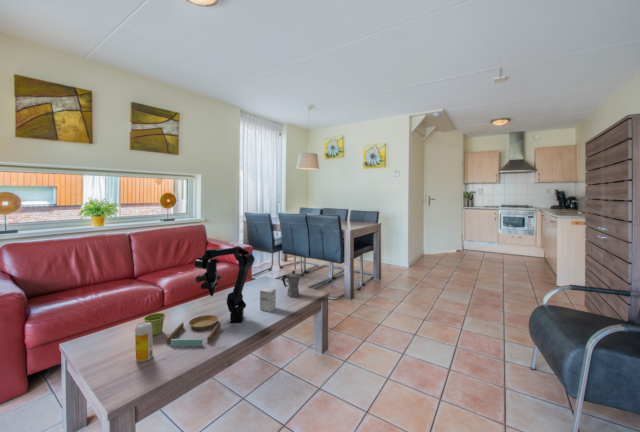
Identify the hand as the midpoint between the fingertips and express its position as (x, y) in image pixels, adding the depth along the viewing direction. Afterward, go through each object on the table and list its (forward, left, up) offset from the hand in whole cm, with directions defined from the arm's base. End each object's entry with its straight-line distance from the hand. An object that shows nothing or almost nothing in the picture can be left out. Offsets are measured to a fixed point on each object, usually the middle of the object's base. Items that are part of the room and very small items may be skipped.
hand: (211, 295), depth 161 cm
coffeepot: (-46, -32, -12) cm, 57 cm away
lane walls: (0, +25, -11) cm, 27 cm away
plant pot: (+21, +22, -12) cm, 33 cm away
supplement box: (-32, -8, -12) cm, 35 cm away
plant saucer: (0, +13, -12) cm, 18 cm away
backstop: (0, +34, -11) cm, 36 cm away
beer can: (+13, +45, -12) cm, 48 cm away
